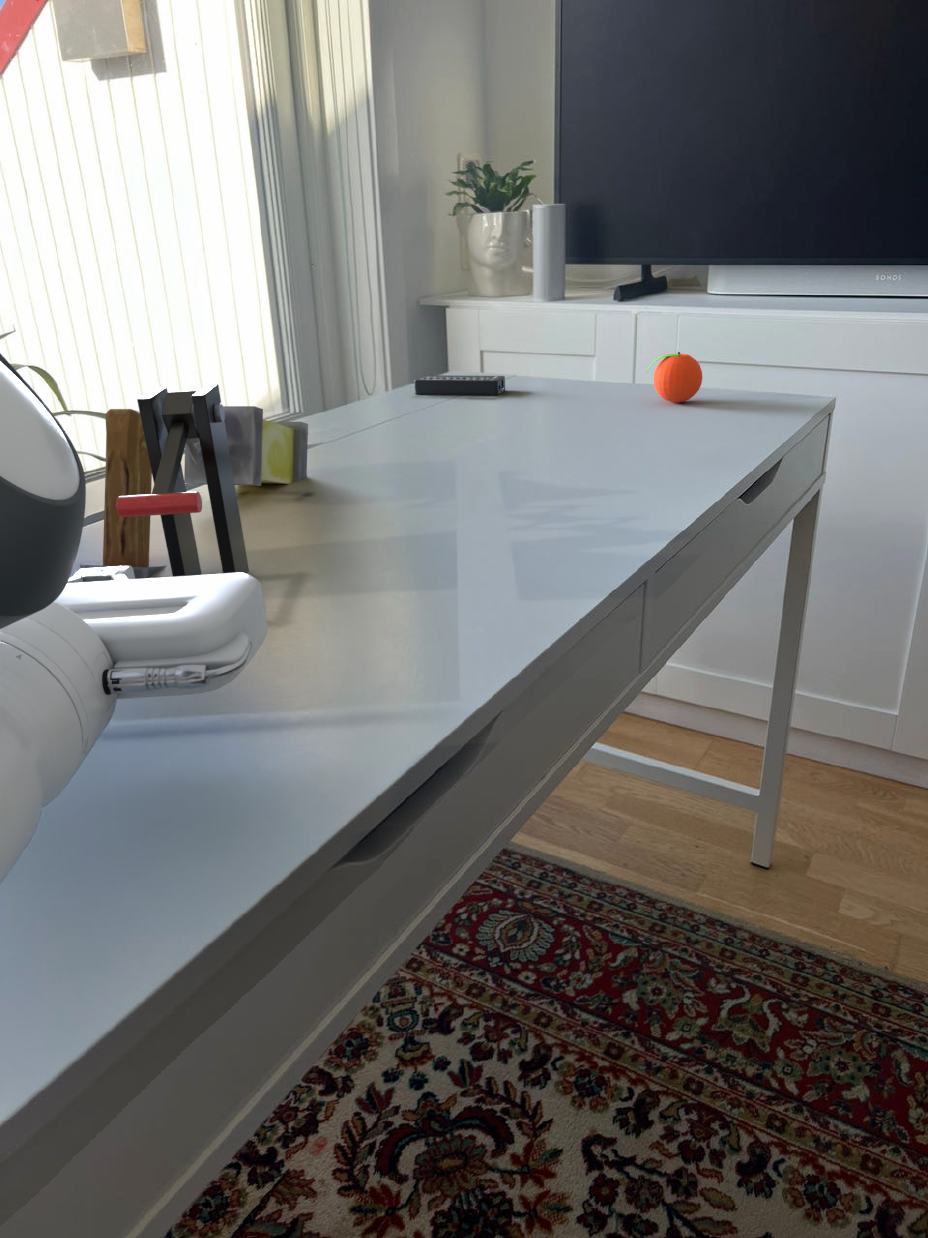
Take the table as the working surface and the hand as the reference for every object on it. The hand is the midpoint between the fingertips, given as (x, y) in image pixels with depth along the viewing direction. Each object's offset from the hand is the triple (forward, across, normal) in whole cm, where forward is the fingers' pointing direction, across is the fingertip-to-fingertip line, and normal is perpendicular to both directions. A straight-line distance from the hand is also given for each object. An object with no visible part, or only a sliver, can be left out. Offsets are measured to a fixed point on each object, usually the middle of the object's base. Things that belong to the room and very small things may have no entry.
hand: (110, 578), depth 54 cm
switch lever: (+17, 0, -2) cm, 17 cm away
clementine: (+85, -52, +10) cm, 100 cm away
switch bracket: (+20, 0, +10) cm, 22 cm away
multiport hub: (+103, -21, +10) cm, 106 cm away
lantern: (+38, +5, +10) cm, 40 cm away
